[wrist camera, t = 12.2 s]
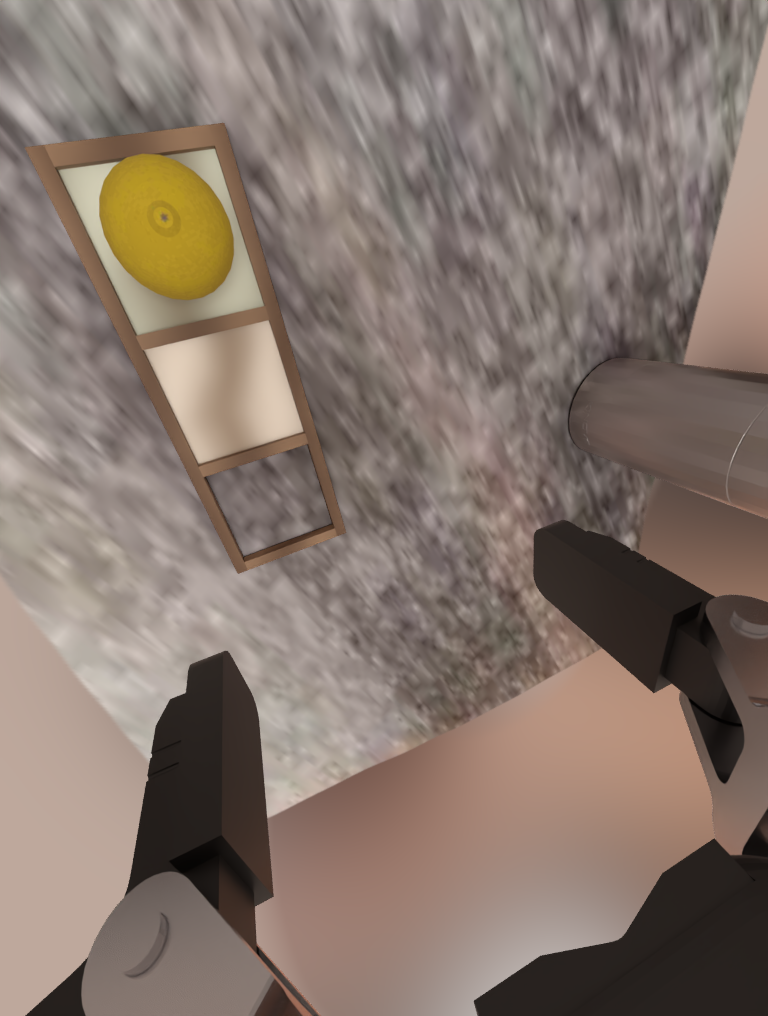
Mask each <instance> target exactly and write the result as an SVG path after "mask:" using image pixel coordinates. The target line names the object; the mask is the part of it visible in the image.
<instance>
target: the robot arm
mask: <svg viewBox="0 0 768 1016" xmlns="http://www.w3.org/2000/svg"><path fill="white" fill-rule="evenodd" d="M569 428H570V433H571V437H572V439H573V441H574V443H575V444H576V445H577V446H578V447H579V448H580V449H582V450H584V451H586V452H589V453H592V454H594V455H597V456H600V457H603V458H605V459H608V460H611V461H613V462H615V463H618V464H621V465H623V466H626V467H629V468H631V469H634V470H637V471H640V472H642V473H645V474H648V475H650V476H653V477H656V478H658V479H661V480H664V481H666V482H669V483H672V484H674V485H677V486H680V487H683V488H685V489H688V490H691V491H693V492H696V493H699V494H701V495H704V496H707V497H709V498H712V499H715V500H718V501H720V502H723V503H726V504H728V505H731V506H734V507H737V508H740V509H742V510H745V511H748V512H750V513H753V514H756V515H759V516H761V517H764V518H767V519H768V374H764V373H755V372H746V371H738V370H729V369H719V368H711V367H701V366H692V365H684V364H675V363H666V362H658V361H649V360H640V359H631V358H614V359H611V360H608V361H606V362H604V363H602V364H601V365H599V366H598V367H597V368H596V369H594V370H593V371H592V372H591V373H590V374H589V375H588V377H587V378H586V379H585V380H584V382H583V383H582V385H581V386H580V388H579V390H578V391H577V394H576V396H575V398H574V400H573V404H572V407H571V411H570V418H569ZM533 574H534V580H535V583H536V586H537V588H538V589H539V591H540V592H541V594H542V595H543V596H544V597H545V598H546V599H547V600H548V601H549V602H551V603H552V604H553V605H554V606H555V607H556V608H557V609H559V610H560V611H561V612H562V613H563V614H564V615H565V616H567V617H568V618H569V619H570V620H571V621H572V622H573V623H574V624H576V625H577V626H578V627H579V628H580V629H581V630H582V631H584V632H585V633H586V634H587V635H588V636H589V637H590V638H592V639H593V640H594V641H595V642H596V643H597V644H598V645H600V646H601V647H602V648H603V649H604V650H605V651H607V652H608V653H609V654H610V655H611V656H612V657H613V658H614V659H616V660H617V661H618V662H619V663H620V664H621V665H622V666H624V667H625V668H626V669H627V670H628V671H629V672H630V673H631V674H633V675H634V676H635V677H636V678H637V679H638V680H639V681H640V682H642V683H643V684H644V685H645V686H646V687H647V688H648V689H650V690H651V691H652V692H653V693H655V692H657V691H659V690H661V689H663V688H664V687H666V686H668V685H670V684H673V685H674V686H676V687H677V688H678V689H679V690H680V694H679V700H680V704H681V707H682V710H683V712H684V716H685V718H686V721H687V724H688V727H689V730H690V733H691V736H692V738H693V741H694V744H695V747H696V750H697V753H698V756H699V759H700V762H701V764H702V767H703V770H704V773H705V776H706V779H707V782H708V785H709V788H710V791H711V796H712V804H713V812H712V816H713V827H714V833H715V838H716V840H715V839H713V840H711V841H710V842H708V843H707V844H705V845H704V846H702V847H701V848H699V849H698V850H696V851H695V852H693V853H692V854H690V855H689V856H688V857H686V858H684V859H683V860H682V861H680V862H678V863H677V864H676V865H674V866H673V867H671V868H670V869H668V870H667V871H665V872H664V873H662V875H661V876H660V878H659V880H658V881H657V883H656V885H655V886H654V888H653V890H652V891H651V893H650V894H649V896H648V898H647V899H646V901H645V903H644V904H643V906H642V908H641V909H640V911H639V912H638V914H637V916H636V917H635V919H634V921H633V922H632V924H631V925H630V927H629V928H628V930H627V932H626V933H625V934H624V936H623V937H622V938H620V939H619V940H617V941H614V942H609V943H604V944H599V945H594V946H589V947H583V948H578V949H573V950H568V951H563V952H558V953H552V954H547V955H542V956H540V957H538V958H537V959H535V960H534V961H532V962H531V963H529V964H528V965H526V966H525V967H523V968H522V969H520V970H519V971H517V972H516V973H514V974H513V975H511V976H510V977H508V978H507V979H506V980H504V981H503V982H501V983H500V984H498V985H497V986H495V987H494V988H492V989H491V990H489V991H488V992H486V993H485V994H483V995H482V996H480V997H479V998H477V999H476V1000H474V1004H475V1008H476V1011H477V1015H478V1016H768V602H766V601H763V600H760V599H757V598H753V597H748V596H742V595H722V596H719V597H714V596H713V595H711V594H709V593H707V592H705V591H704V590H702V589H700V588H698V587H696V586H695V585H693V584H691V583H690V582H688V581H686V580H684V579H683V578H681V577H679V576H677V575H676V574H674V573H672V572H670V571H669V570H667V569H665V568H663V567H662V566H660V565H658V564H657V563H655V562H653V561H651V560H647V559H646V557H644V556H642V555H641V554H639V553H637V552H636V551H631V550H630V548H629V547H627V546H625V545H623V544H622V543H620V542H618V541H616V540H615V539H613V538H611V537H608V536H604V535H601V534H598V533H594V532H591V531H587V532H586V531H584V530H583V529H581V528H579V527H577V526H576V525H574V524H572V523H571V522H569V521H566V520H561V521H558V522H556V523H553V524H551V525H548V526H546V527H543V528H540V529H538V530H537V531H536V532H535V534H534V570H533ZM151 753H152V758H150V764H149V770H148V781H147V782H146V787H145V793H144V799H143V805H142V811H141V817H140V823H139V828H138V834H137V840H136V846H135V852H134V858H133V864H132V870H131V875H130V880H129V884H128V888H127V891H126V894H125V897H124V898H123V899H122V901H121V902H120V903H119V904H118V905H117V906H116V907H115V909H114V910H113V911H112V913H111V914H110V915H109V917H108V918H107V920H106V922H105V923H104V925H103V926H102V928H101V930H100V932H99V934H98V935H97V937H96V940H95V941H94V944H93V946H92V949H91V951H90V953H89V956H88V958H87V959H86V960H85V961H84V962H83V963H82V964H81V966H79V968H77V969H76V970H75V971H74V972H73V973H72V974H71V975H70V976H69V977H68V978H67V979H66V980H65V981H63V982H62V983H61V984H60V985H59V986H58V987H57V988H56V989H55V990H53V992H51V993H50V994H49V995H48V996H47V997H46V998H45V999H43V1000H42V1001H41V1002H40V1003H39V1004H38V1005H37V1006H36V1007H34V1008H33V1009H32V1010H31V1011H30V1012H29V1013H28V1014H27V1015H26V1016H321V1015H320V1014H319V1013H318V1012H317V1010H316V1009H315V1008H314V1007H313V1006H312V1005H311V1004H310V1003H309V1001H308V1000H307V999H306V998H305V997H304V996H303V995H302V994H301V992H299V990H298V989H297V988H296V987H295V986H294V985H293V984H292V982H291V981H290V980H289V979H288V978H287V977H286V976H285V975H284V973H283V972H282V971H281V970H280V969H279V968H278V967H277V966H276V964H275V963H274V962H273V961H272V960H271V959H270V958H269V957H268V956H267V954H266V953H265V952H264V951H263V950H262V949H261V948H260V946H259V945H258V944H257V943H256V924H255V906H257V905H259V904H261V903H262V902H264V901H266V900H268V899H270V898H272V897H273V885H272V871H271V861H270V860H271V859H270V848H269V836H268V823H267V811H266V799H265V787H264V775H263V763H262V751H261V739H260V727H259V717H258V712H257V708H256V704H255V701H254V698H253V695H252V693H251V691H250V689H249V688H248V686H247V684H246V682H245V680H244V678H243V677H242V675H241V673H240V671H239V669H238V667H237V666H236V664H235V662H234V660H233V658H232V657H231V655H230V653H229V652H228V651H223V652H221V653H218V654H216V655H213V656H211V657H208V658H206V659H203V660H200V661H198V662H195V663H193V664H191V665H190V667H189V670H188V679H187V688H186V693H185V694H182V695H180V696H177V697H175V698H172V699H170V701H169V703H168V704H167V706H166V708H165V710H164V712H163V714H162V716H161V717H160V719H159V721H158V723H157V725H156V728H155V734H154V740H153V746H152V752H151Z"/></svg>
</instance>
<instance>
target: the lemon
mask: <svg viewBox="0 0 768 1016" xmlns="http://www.w3.org/2000/svg"><path fill="white" fill-rule="evenodd" d="M99 217H100V221H101V225H102V229H103V233H104V236H105V238H106V240H107V242H108V244H109V246H110V248H111V250H112V252H113V254H114V256H115V257H116V259H117V260H118V261H119V262H120V264H121V265H122V266H123V268H124V269H125V270H126V271H127V272H128V273H129V274H130V275H131V276H132V277H133V278H134V279H136V280H137V281H138V282H139V283H140V284H141V285H143V286H145V287H146V288H148V289H150V290H152V291H153V292H155V293H157V294H160V295H163V296H166V297H169V298H171V299H180V300H192V299H197V298H202V297H204V296H206V295H208V294H210V293H212V292H214V291H215V290H216V289H217V288H218V287H219V286H220V285H221V284H222V283H223V282H224V281H225V279H226V277H227V275H228V273H229V272H230V270H231V266H232V261H233V257H234V237H233V233H232V229H231V225H230V220H229V218H228V216H227V214H226V212H225V210H224V207H223V205H222V203H221V201H220V200H219V198H218V197H217V196H216V194H215V193H214V191H213V190H212V189H211V187H210V186H209V185H208V184H207V183H206V182H205V181H204V180H203V179H202V178H201V177H200V176H199V175H198V174H197V173H195V172H194V171H193V170H191V169H190V168H188V167H187V166H185V165H183V164H182V163H180V162H178V161H176V160H173V159H170V158H168V157H165V156H162V155H157V154H139V155H135V156H131V157H127V158H125V159H124V160H122V161H121V162H119V163H118V164H116V165H115V166H114V167H113V168H112V169H111V171H110V172H109V174H108V175H107V177H106V178H105V180H104V182H103V186H102V189H101V193H100V196H99Z"/></svg>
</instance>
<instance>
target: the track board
mask: <svg viewBox="0 0 768 1016" xmlns="http://www.w3.org/2000/svg"><path fill="white" fill-rule="evenodd" d="M25 149H26V151H27V153H28V155H29V157H30V159H31V161H32V163H33V165H34V167H35V169H36V171H37V173H38V175H39V177H40V179H41V181H42V183H43V185H44V187H45V189H46V191H47V193H48V195H49V197H50V199H51V201H52V203H53V205H54V207H55V209H56V211H57V213H58V215H59V217H60V219H61V221H62V223H63V225H64V227H65V229H66V231H67V233H68V235H69V237H70V239H71V241H72V243H73V245H74V247H75V249H76V251H77V253H78V255H79V257H80V259H81V261H82V263H83V265H84V267H85V269H86V271H87V273H88V275H89V277H90V279H91V281H92V283H93V285H94V287H95V289H96V291H97V293H98V295H99V297H100V299H101V301H102V303H103V305H104V307H105V309H106V311H107V313H108V315H109V317H110V319H111V321H112V323H113V325H114V327H115V329H116V331H117V333H118V335H119V337H120V339H121V341H122V343H123V345H124V347H125V349H126V351H127V353H128V355H129V357H130V359H131V361H132V363H133V365H134V367H135V369H136V371H137V373H138V375H139V377H140V379H141V381H142V383H143V385H144V387H145V389H146V391H147V393H148V395H149V397H150V399H151V401H152V403H153V405H154V407H155V409H156V411H157V413H158V415H159V417H160V419H161V421H162V423H163V425H164V427H165V429H166V431H167V433H168V435H169V437H170V439H171V441H172V443H173V445H174V447H175V449H176V451H177V453H178V455H179V457H180V459H181V461H182V463H183V465H184V467H185V469H186V471H187V473H188V475H189V477H190V479H191V481H192V483H193V485H194V487H195V489H196V491H197V493H198V495H199V497H200V499H201V501H202V503H203V505H204V507H205V509H206V511H207V513H208V515H209V517H210V519H211V521H212V523H213V525H214V527H215V529H216V531H217V533H218V535H219V537H220V539H221V541H222V543H223V545H224V547H225V549H226V551H227V553H228V555H229V557H230V559H231V561H232V563H233V565H234V567H235V569H236V571H237V573H238V574H239V573H242V572H244V571H247V570H249V569H252V568H255V567H257V566H260V565H263V564H265V563H268V562H270V561H273V560H276V559H278V558H281V557H284V556H286V555H289V554H291V553H294V552H297V551H299V550H302V549H305V548H307V547H310V546H312V545H315V544H318V543H320V542H323V541H326V540H328V539H331V538H334V537H336V536H339V535H341V534H344V533H346V530H345V527H344V524H343V520H342V517H341V514H340V510H339V507H338V504H337V500H336V497H335V494H334V490H333V487H332V483H331V480H330V477H329V473H328V470H327V467H326V463H325V460H324V457H323V453H322V450H321V447H320V443H319V440H318V436H317V433H316V430H315V426H314V423H313V420H312V416H311V413H310V410H309V406H308V403H307V399H306V396H305V393H304V389H303V386H302V383H301V379H300V376H299V373H298V369H297V366H296V363H295V359H294V356H293V352H292V349H291V346H290V342H289V339H288V336H287V332H286V329H285V326H284V322H283V319H282V316H281V312H280V309H279V305H278V302H277V299H276V295H275V292H274V289H273V285H272V282H271V279H270V275H269V272H268V268H267V265H266V262H265V258H264V255H263V252H262V248H261V245H260V242H259V238H258V235H257V232H256V228H255V225H254V221H253V218H252V215H251V211H250V208H249V205H248V201H247V198H246V195H245V191H244V188H243V185H242V181H241V178H240V174H239V171H238V168H237V164H236V161H235V158H234V154H233V151H232V148H231V144H230V141H229V137H228V134H227V131H226V127H225V124H224V123H219V124H211V125H203V126H195V127H187V128H179V129H171V130H162V131H154V132H146V133H138V134H130V135H122V136H114V137H105V138H97V139H89V140H81V141H73V142H65V143H57V144H48V145H40V146H32V147H25ZM139 154H157V155H162V156H165V157H168V158H170V159H173V160H176V161H178V162H180V163H182V164H183V165H185V166H187V167H188V168H190V169H191V170H193V171H194V172H195V173H197V174H198V175H199V176H200V177H201V178H202V179H203V180H204V181H205V182H206V183H207V184H208V185H209V186H210V187H211V189H212V190H213V191H214V193H215V194H216V196H217V197H218V198H219V200H220V201H221V203H222V205H223V207H224V210H225V212H226V214H227V216H228V218H229V220H230V225H231V229H232V233H233V237H234V257H233V261H232V266H231V270H230V272H229V273H228V275H227V277H226V279H225V281H224V282H223V283H222V284H221V285H220V286H219V287H218V288H217V289H216V290H215V291H214V292H212V293H210V294H208V295H206V296H204V297H202V298H197V299H192V300H180V299H171V298H169V297H166V296H163V295H160V294H157V293H155V292H153V291H152V290H150V289H148V288H146V287H145V286H143V285H141V284H140V283H139V282H138V281H137V280H136V279H134V278H133V277H132V276H131V275H130V274H129V273H128V272H127V271H126V270H125V269H124V268H123V266H122V265H121V264H120V262H119V261H118V260H117V259H116V257H115V256H114V254H113V252H112V250H111V248H110V246H109V244H108V242H107V240H106V238H105V236H104V233H103V229H102V225H101V221H100V217H99V196H100V193H101V189H102V186H103V182H104V180H105V178H106V177H107V175H108V174H109V172H110V171H111V169H112V168H113V167H114V166H115V165H116V164H118V163H119V162H121V161H122V160H124V159H125V158H127V157H131V156H135V155H139ZM306 444H307V445H308V448H309V451H310V454H311V457H312V461H313V464H314V467H315V470H316V473H317V477H318V480H319V483H320V486H321V489H322V492H323V496H324V499H325V502H326V505H327V508H328V511H329V515H330V518H331V521H332V524H331V525H328V526H326V527H323V528H320V529H318V530H315V531H312V532H310V533H307V534H304V535H302V536H299V537H296V538H293V539H291V540H288V541H285V542H283V543H280V544H277V545H275V546H272V547H269V548H267V549H264V550H261V551H259V552H256V553H253V554H250V555H248V556H245V557H243V555H242V553H241V551H240V549H239V546H238V544H237V542H236V540H235V538H234V536H233V534H232V532H231V530H230V528H229V525H228V523H227V521H226V519H225V517H224V515H223V513H222V511H221V509H220V507H219V504H218V502H217V500H216V498H215V496H214V494H213V492H212V490H211V488H210V486H209V483H208V481H207V479H206V476H209V475H212V474H215V473H218V472H221V471H225V470H228V469H231V468H234V467H237V466H240V465H243V464H246V463H250V462H253V461H256V460H259V459H262V458H265V457H268V456H272V455H275V454H278V453H281V452H284V451H287V450H290V449H293V448H297V447H300V446H303V445H306Z"/></svg>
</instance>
